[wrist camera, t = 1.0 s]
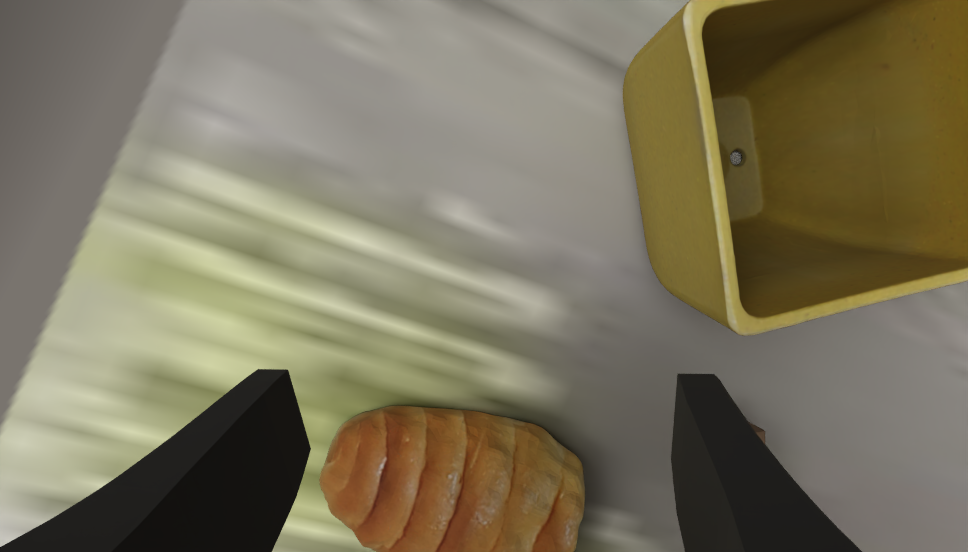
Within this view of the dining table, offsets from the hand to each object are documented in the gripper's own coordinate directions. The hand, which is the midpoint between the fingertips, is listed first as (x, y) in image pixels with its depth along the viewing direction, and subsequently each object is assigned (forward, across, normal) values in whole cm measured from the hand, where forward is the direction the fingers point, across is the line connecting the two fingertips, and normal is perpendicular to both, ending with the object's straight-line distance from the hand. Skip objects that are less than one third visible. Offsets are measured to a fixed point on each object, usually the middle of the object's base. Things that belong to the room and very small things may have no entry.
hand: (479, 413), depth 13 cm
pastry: (+9, +3, +12) cm, 15 cm away
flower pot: (+17, -6, +2) cm, 18 cm away
